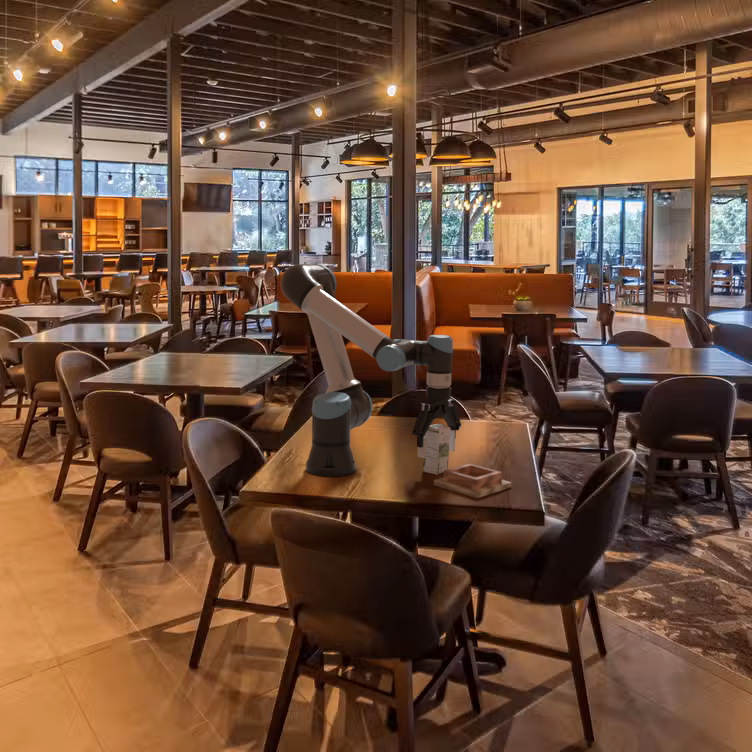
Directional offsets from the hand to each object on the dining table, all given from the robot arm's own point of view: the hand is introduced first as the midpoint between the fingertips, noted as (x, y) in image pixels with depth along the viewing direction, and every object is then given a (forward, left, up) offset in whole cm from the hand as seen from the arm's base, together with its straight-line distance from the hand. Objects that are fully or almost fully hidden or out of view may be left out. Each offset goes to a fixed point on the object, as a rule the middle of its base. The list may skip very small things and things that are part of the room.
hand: (436, 453), depth 246 cm
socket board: (-3, -17, -6) cm, 18 cm away
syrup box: (0, 0, -6) cm, 6 cm away
